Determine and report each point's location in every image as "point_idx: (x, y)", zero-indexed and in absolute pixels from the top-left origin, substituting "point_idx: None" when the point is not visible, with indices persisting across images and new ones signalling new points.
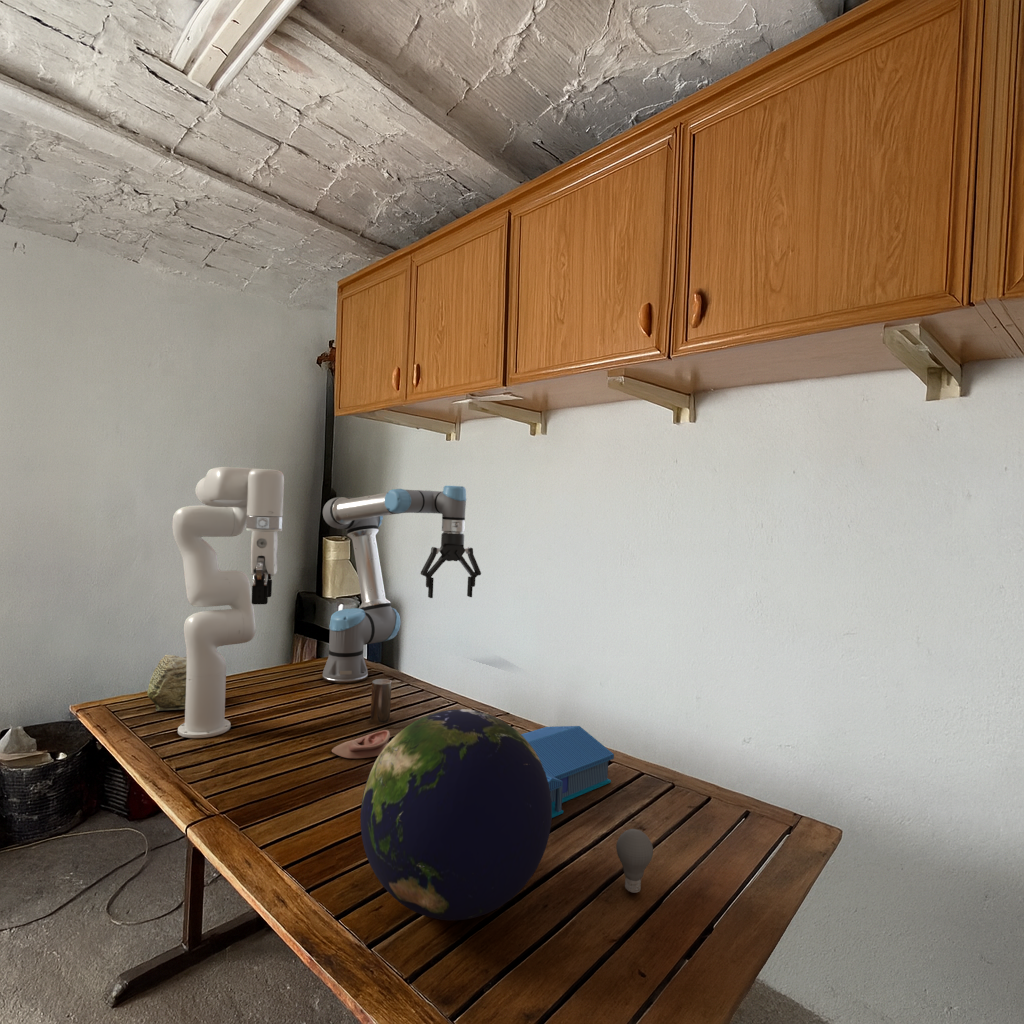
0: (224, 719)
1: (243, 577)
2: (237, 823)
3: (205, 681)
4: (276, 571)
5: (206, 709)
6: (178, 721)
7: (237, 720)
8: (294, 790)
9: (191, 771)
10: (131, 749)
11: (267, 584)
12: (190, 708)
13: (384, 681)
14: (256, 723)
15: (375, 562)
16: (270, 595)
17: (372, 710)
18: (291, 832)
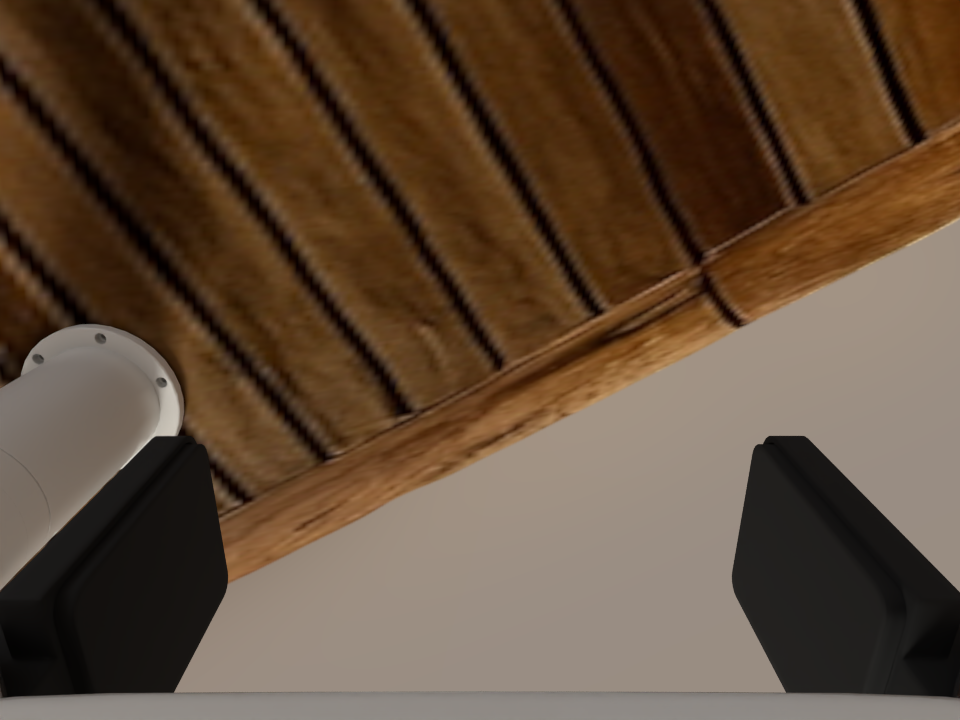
0: (72, 352)
1: None
2: (769, 214)
3: (58, 483)
4: (332, 717)
5: (117, 422)
6: None
7: (7, 310)
8: (615, 69)
9: (424, 375)
10: (257, 541)
11: (127, 599)
12: (115, 471)
13: None
14: (32, 243)
15: None
16: (197, 447)
17: None
18: (872, 64)
